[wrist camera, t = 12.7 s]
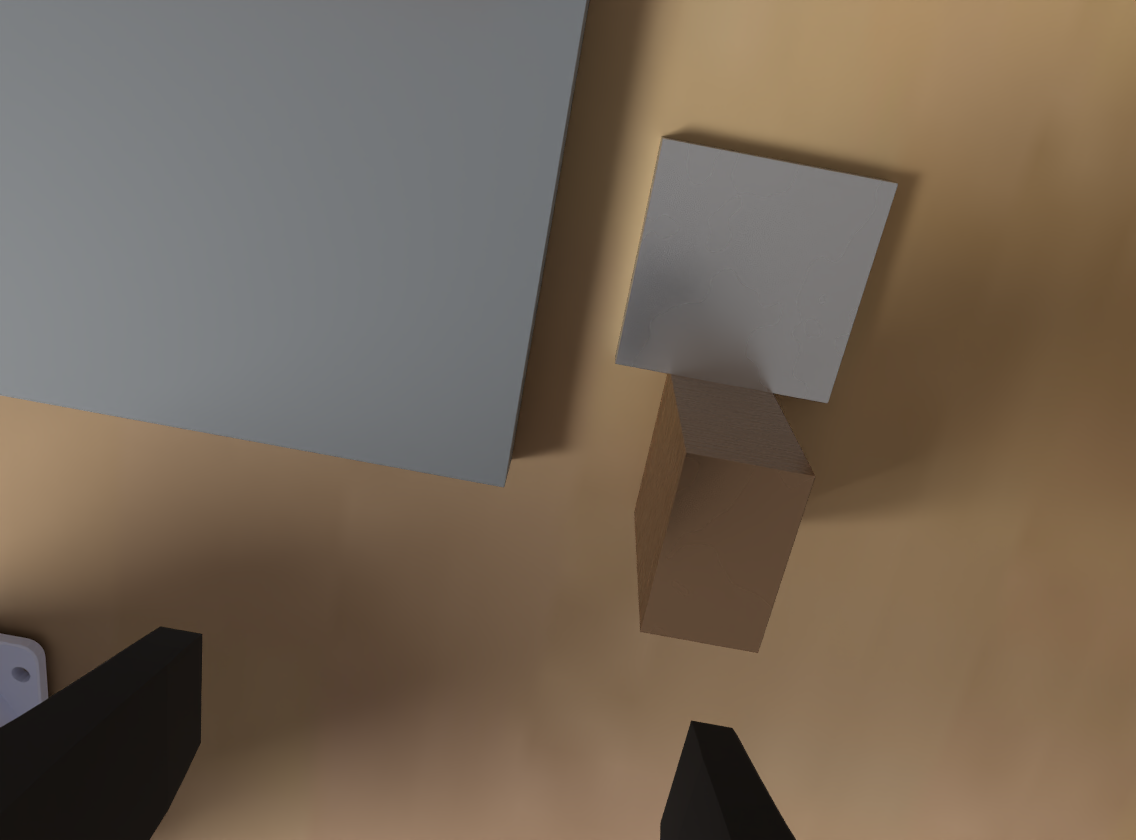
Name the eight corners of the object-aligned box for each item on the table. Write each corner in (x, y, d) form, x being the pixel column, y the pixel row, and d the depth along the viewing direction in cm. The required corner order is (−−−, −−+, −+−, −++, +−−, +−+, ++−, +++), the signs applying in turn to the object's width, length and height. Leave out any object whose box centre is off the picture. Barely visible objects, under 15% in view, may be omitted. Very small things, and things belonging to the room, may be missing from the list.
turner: (776, 538, 21) (821, 664, 17) (584, 502, 21) (576, 620, 17) (889, 180, 18) (984, 215, 13) (661, 136, 18) (678, 156, 13)
